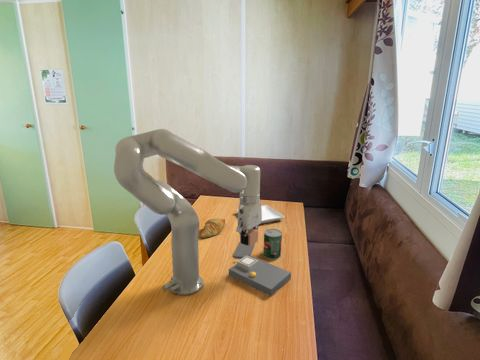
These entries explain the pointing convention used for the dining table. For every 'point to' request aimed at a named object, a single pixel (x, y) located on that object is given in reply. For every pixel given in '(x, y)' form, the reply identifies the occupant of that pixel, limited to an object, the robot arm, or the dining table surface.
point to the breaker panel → (260, 275)
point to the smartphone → (243, 250)
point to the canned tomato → (272, 243)
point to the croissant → (213, 227)
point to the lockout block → (251, 236)
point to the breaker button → (248, 261)
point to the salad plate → (269, 214)
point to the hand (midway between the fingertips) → (248, 241)
